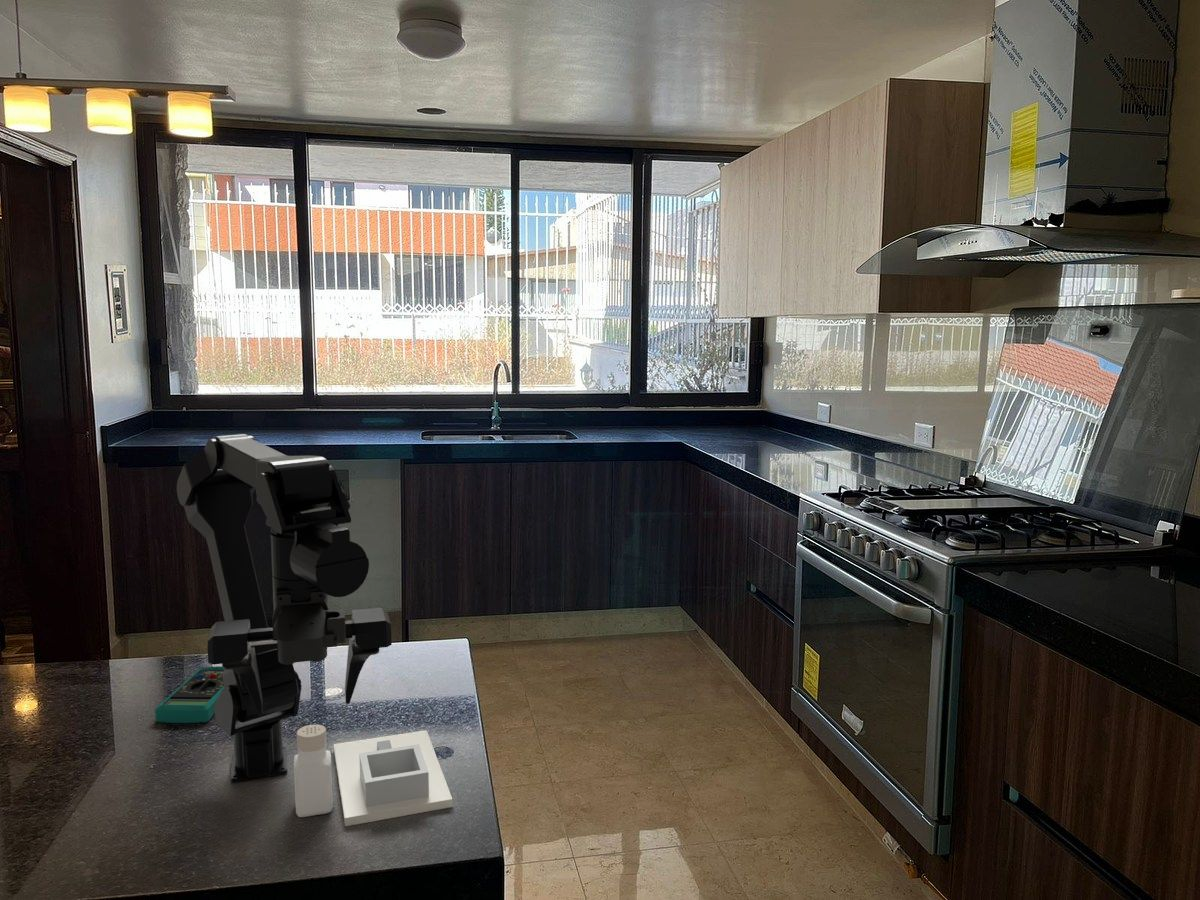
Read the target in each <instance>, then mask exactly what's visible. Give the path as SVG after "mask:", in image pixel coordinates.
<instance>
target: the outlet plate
mask: <svg viewBox="0 0 1200 900" xmlns="http://www.w3.org/2000/svg"><path fill="white" fill-rule="evenodd" d="M333 754H334V755H333V756H334V761H335V767H336V768H335V769H336V775H337V783H338V789H339V794H340V801H341V808H342V815H343V823H344V827H350V826H355V825H361V824H366V823H371V822H377V821H382V820H388V819H393V818H398V817H399V818H400V817H405V816H410V815H416V814H421V813H425V812H426V813H427V812H433V811H438V810H443V809H450V808H453V807H454V806H453V796H452V794H451V792H450V791H451V790H450V789H449V786H448V784H447V781H446V778H445V775H444V773H443V769H442V768H441V765H440V762H439V759H438V756H437V754H436V752H435V749H434V746H433V744H432V741H431V738H430V735H429V733H428V730H427V729H425V730H419V731H412V732H405V733H400V734H399V733H398V734H392V735H387V736H385V735H384V736H379V737H378V736H377V737H374V738H373V737H372V738H366V739H359V740H353V741H352V740H351V741H346V742H340V743H339V742H338V743H333Z"/></svg>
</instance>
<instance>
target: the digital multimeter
mask: <svg viewBox="0 0 1200 900" xmlns="http://www.w3.org/2000/svg"><path fill="white" fill-rule="evenodd" d="M223 672H224V669H223V667H222V665H221V666H217V665H216V666H207V667H200V668H198V669H196V671H195V672H194V673H193V674H192V675H191V676H190V677H188V678H187V679H186V680H185V681H184V683H182V684H181V685H180V686H178V688H177V689H175V691H173V692H172V693H171V694H170V695H169V696H168V697H167V698H165V699H164V700H163V701H162V702H161V703H160V704H159V705H157V706H156V707H155V708H154V714H155V715H154V717H155V722H157V723H164V724H165V723H168V724H195V723H196V724H198V723H199V724H200V722H202V723H208V722H209V721H210V719H212V717H213V716H215V712H214V705H215V703H216V701H217V699H218V698H219V696H220V694H221V692H222V690H223V688H224V684H223V678H222V675H223Z"/></svg>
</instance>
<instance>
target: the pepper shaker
mask: <svg viewBox="0 0 1200 900" xmlns="http://www.w3.org/2000/svg"><path fill="white" fill-rule="evenodd" d="M327 745H328V744H327V728H326V727H325V726H324V725H321V724H309V725H304V726H302V727H301V728H299V729H298V730H297V731H296V748H297V754H295V755H294V757H293V776H294V778H293V780H294V798H295V799H294V800H295V801H294V803H295V813H296V816H297V817H298V818H305V817H312V816H317V815H318V816H319V815H325V814H329V813H330V812H332V810H333V806H334V803H333V800H334V799H333V776H332V775H333V772H332V756H331V750H328V749H327Z"/></svg>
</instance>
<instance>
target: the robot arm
mask: <svg viewBox="0 0 1200 900" xmlns="http://www.w3.org/2000/svg"><path fill="white" fill-rule="evenodd" d="M343 489H344V488H343V487H342V485H341V483H340V481H339V478H338V476H337V473H336V470H335V469H334V467H333V466H332V465H331V464H330V462H329V460H327V458H325V457H324V456H321V455H287V454H284V453H282V452H280V451H278V450H276V449H274V448H272V447H270V446H268V445H266V444H264V443H261V442H259V441H257V440H255V437H254V436H253V435H248V434H246V433H241V434H229V435H217V436H214V437H213V438H209V439H208V440H207V441H206V443H205V446H204V449H203V450H201V451H200V452H199V453H197V454H196V455H194V456H193V457H192V458H191V459H188V460H187V461H186V462H185V463H183V466H182V468H181V472H180V474H179V477H178V479H177V482H176V494H177V499H178V502H179V504H180V505H181V506H182V507H183V508H184V511H185V515H186V518H187V521H188V523H189V524H190V525H191V526H192V527H193V528H194V529H195V530H196V531H198V532H199V533H200V534H201V535H202V536H203V537H204V538H205V540H206V543H207V546H208V547H207V548H208V551H209V552H208V553H209V558H210V561H211V566H212V570H213V574H214V578H215V579H214V580H215V582H216V584H215V585H216V588H217V592H218V598H219V601H220V606H221V611H222V615H223V619H224V620H222V621H216V622H215V623H214V624H213V625H212V626H211V628H210V630H209V631H210V632H209V635H208V639H207V661H208V662H207V664H211V665H221V667H223V669H224V672H223V675H222V678H223V684H224V688H223V690H222V692H221V694H220V696H219V698H218V699H217V701H216V703H215V705H214V712H215V714H214V716H215V717H214V718H215V723H216V725H217V726H218V727H220V728H221V729H222V730H223V731H224V732H225V733H226V734H227V735H228V736H229V737H231V736H232V737H233V739H232V740H233V754H232V756H231V765H230V782H233V783H235V782H241V781H247V780H253V779H254V780H255V779H260V778H268V777H274V776H278V775H284V774H287V773H288V753H287V751H288V750H287V747H286V746H284V740H283V737H284V735H283V720H285V719H289V718H295V717H298V714H299V712H298V711H299V708H300V707H299V706H300V700H301V695H302V694H301V693H302V686H303V685H302V679H301V678H300V677H299V676H300V675H299V674H298V672H297V671H296V670H295V668H294V664H295V663H304V662H312V663H317V662H318V663H319V662H321V661H323V660H325V659H326V658H327V656H328V648H333V647H334V648H336V647H338V645H340V644H341V645H342V644H345V643H346V641H347V639H348V645H347V646H348V647H347V648H348V649H347V658H346V659H347V660H346V661H347V662H346V671H345V682H344V693H345V694H344V695H345V697H344V698H345V704H346V705H347V704H351V702H352V701H351V700H352V697H353V694H354V692H355V688H356V686H357V682H358V679H359V676H360V674H361V671H362V669H363V667H364V665H365V663H366V662H367V660H368V658H369V657H370V656H374V655H377V654H379V653H380V648H381V649H382V648H388V647H390V646H392V644H393V643H392V642H393V641H392V639H393V638H392V624H391V620H390V617H389V614H388V612H387V611H386V610H385V608H383V607H373V608H361V609H352V610H351V620H349V619H348V620H346V613H345V609H335V610H333V609H330V608H329V607H330V606H329V605H330V604H329V597H333V598H344V597H347V596H349V595H352V594H354V593H355V592H356V591H357V590H358V589H359V588H360V587H361V586H362V585H363V584H364V582H365V581H366V578H367V576H368V573H369V568H370V560H369V558H368V556H367V554H366V550H364V548H363V547H362V546H361V545H360V544H358V543H356V542H354V541H352V540H351V536H350V535H351V533H350V532H351V531H350V529H349V528H347V527H344V526H339V525H343V524H350V523H351V522H352V517H351V513H350V511H349V510H350V508H351V504H350V502H349V500H348V498H347V496H346V493H345V492H344V491H345V490H343ZM254 492H255V494H256V502H257V503H258V504H259V505H260V507H261V509H262V511H263V513H264V515H265V517H266V520H265V524H266V526H268V527H270V553H271V556H270V557H271V575H272V576H271V577H272V579H271V580H272V583H271V584H272V603H273V608H272V609H273V614H272V618H271V619H272V627H269V625H268V621H267V616H266V611H265V607H264V603H263V599H262V594H261V591H260V587H259V586H260V585H259V582H258V578H257V573H256V568H255V565H254V560H253V556H252V551H251V547H250V543H249V539H248V534H247V530H246V526H247V525H246V524H247V523H248V519H249V517H250V513H251V511H252V510H253V506H254V501H253V500H254V499H253V494H254ZM328 508H329V509H328Z"/></svg>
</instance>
